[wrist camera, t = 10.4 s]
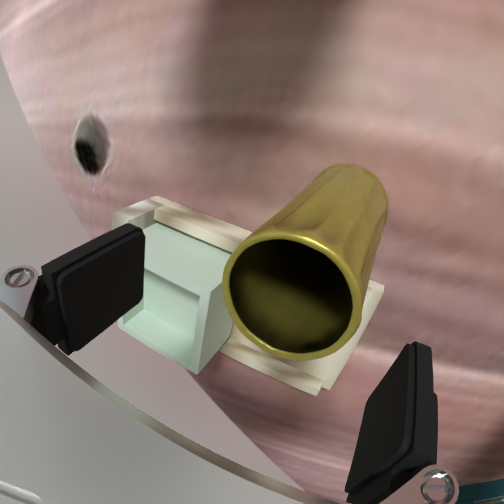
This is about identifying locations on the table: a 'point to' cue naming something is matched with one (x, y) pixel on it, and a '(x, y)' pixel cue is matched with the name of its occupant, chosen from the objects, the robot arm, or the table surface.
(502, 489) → the donation box
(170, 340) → the box
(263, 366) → the cream rectangular tray
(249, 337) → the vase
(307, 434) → the table surface
